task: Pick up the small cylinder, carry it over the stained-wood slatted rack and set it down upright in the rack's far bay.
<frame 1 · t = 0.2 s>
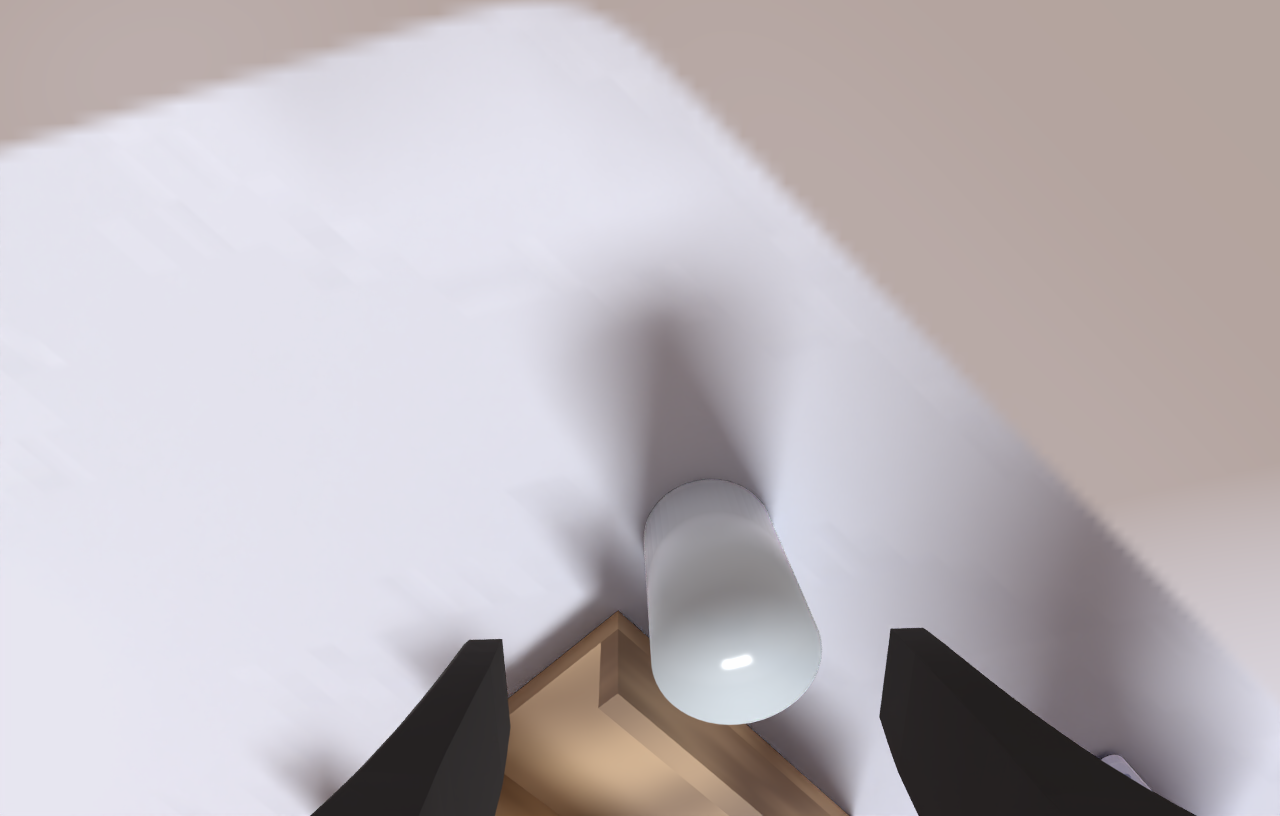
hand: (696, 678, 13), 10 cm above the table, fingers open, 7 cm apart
cylinder: (708, 537, 23), on the table
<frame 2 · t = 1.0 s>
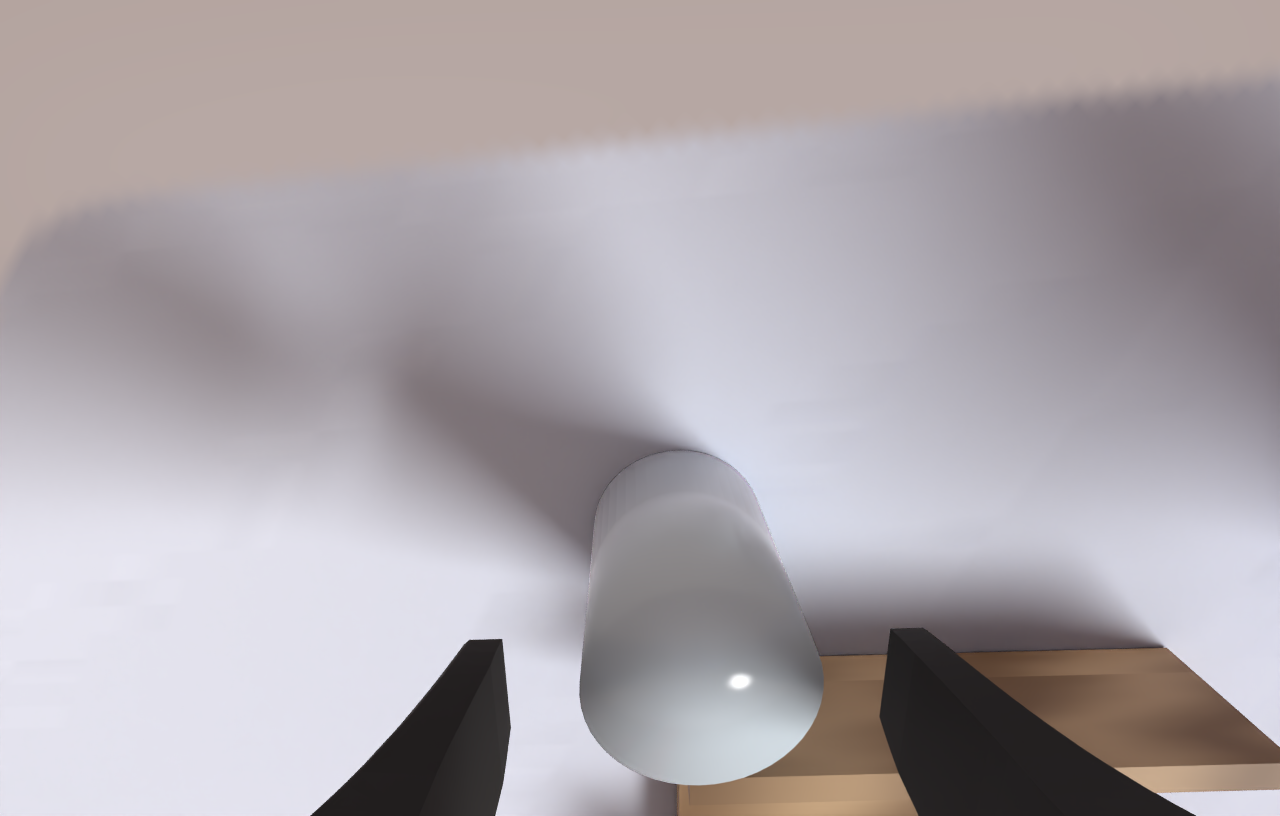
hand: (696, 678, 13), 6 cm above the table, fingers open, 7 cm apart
cylinder: (677, 527, 18), on the table
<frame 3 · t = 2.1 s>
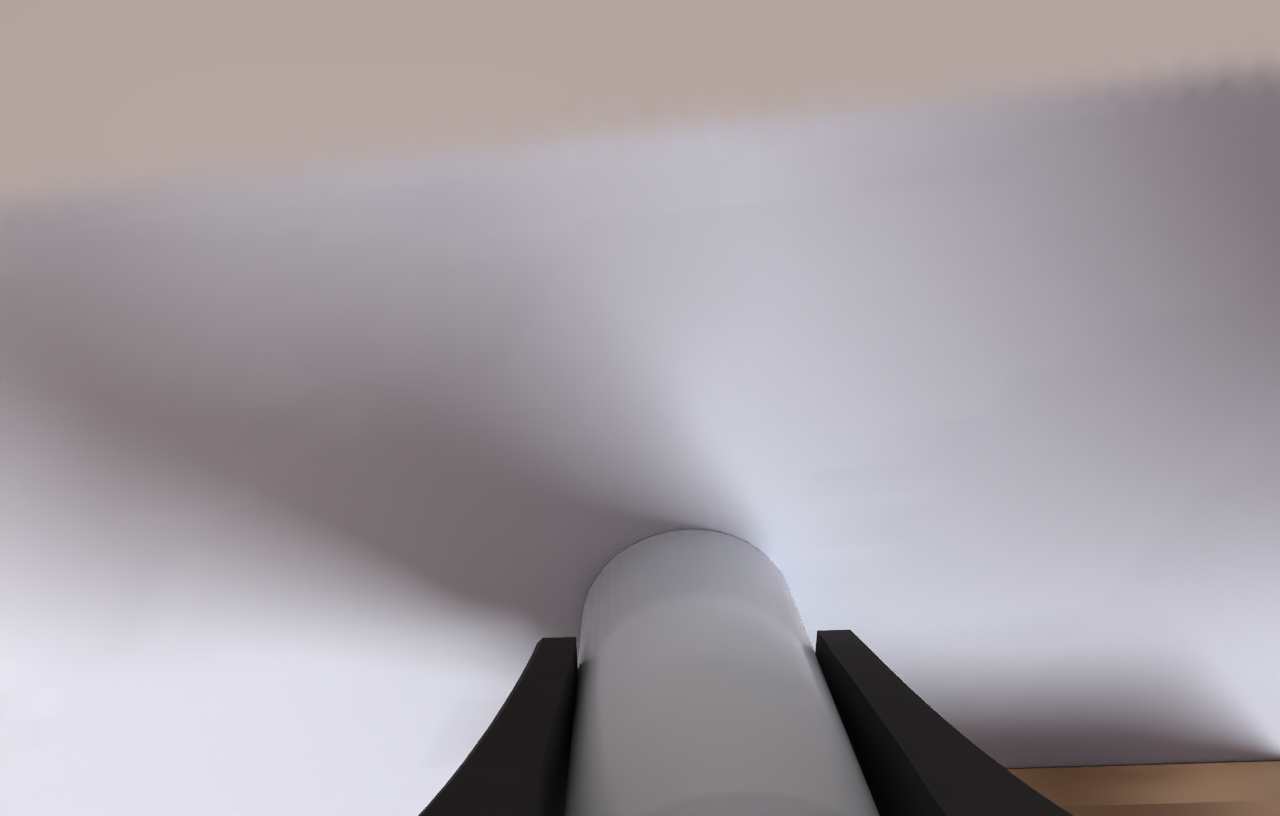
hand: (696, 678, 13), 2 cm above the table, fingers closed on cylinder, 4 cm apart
cylinder: (688, 623, 14), on the table, touching gripper
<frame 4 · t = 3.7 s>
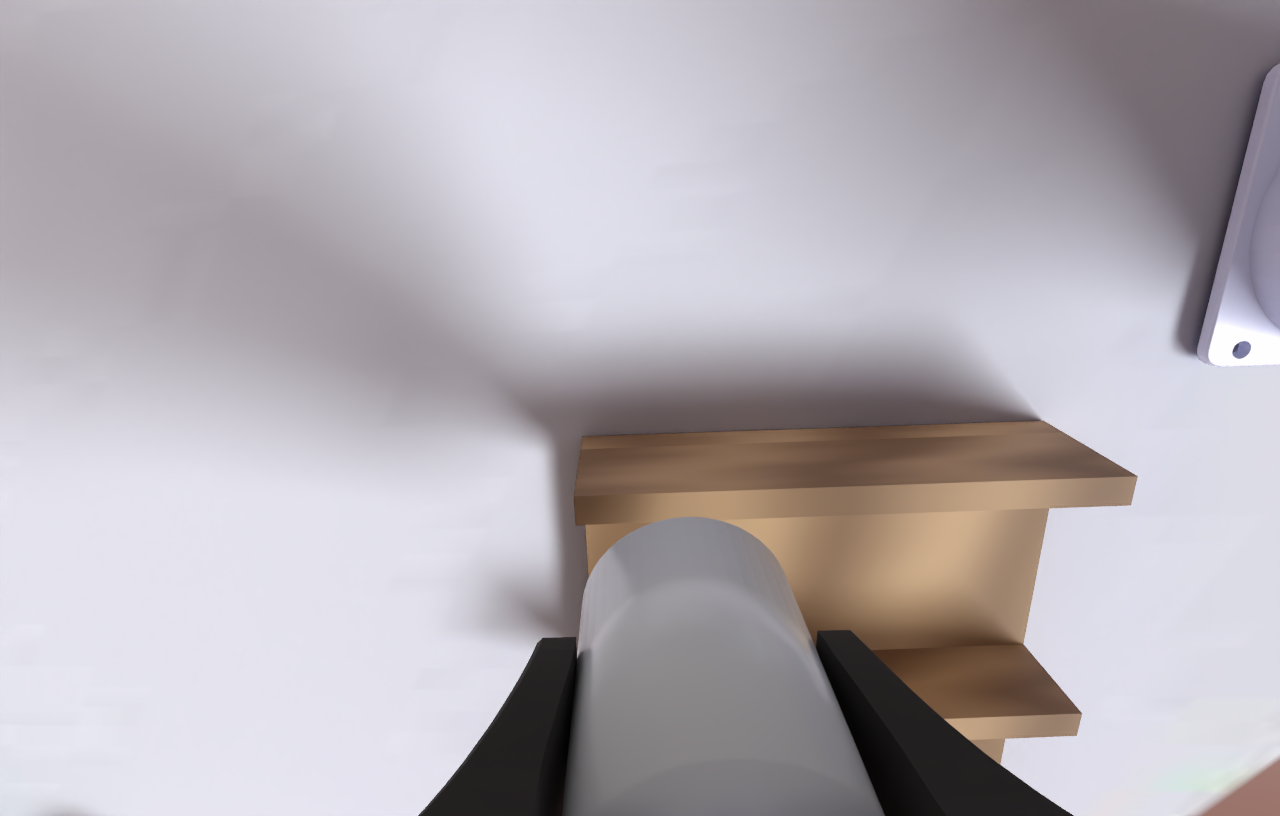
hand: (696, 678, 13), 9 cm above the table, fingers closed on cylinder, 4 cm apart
rack: (801, 642, 23), on the table
cylinder: (686, 610, 14), point 7 cm above the table, touching gripper
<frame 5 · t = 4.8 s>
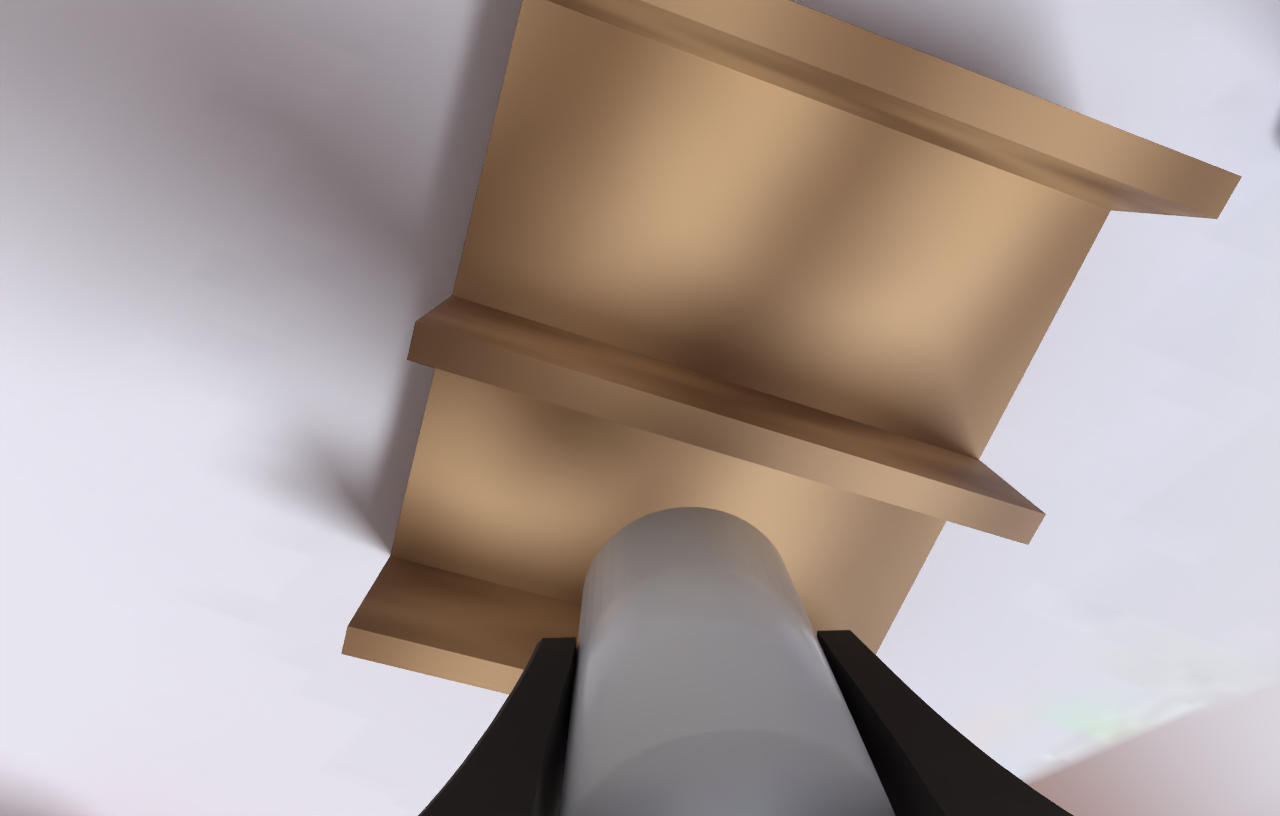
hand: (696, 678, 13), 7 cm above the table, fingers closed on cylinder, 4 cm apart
rack: (718, 384, 18), on the table
cylinder: (686, 602, 14), point 5 cm above the table, touching gripper
when the fingers open (4 cm above the table, at t = 5.7 s): cylinder stays where it is, resting on rack.
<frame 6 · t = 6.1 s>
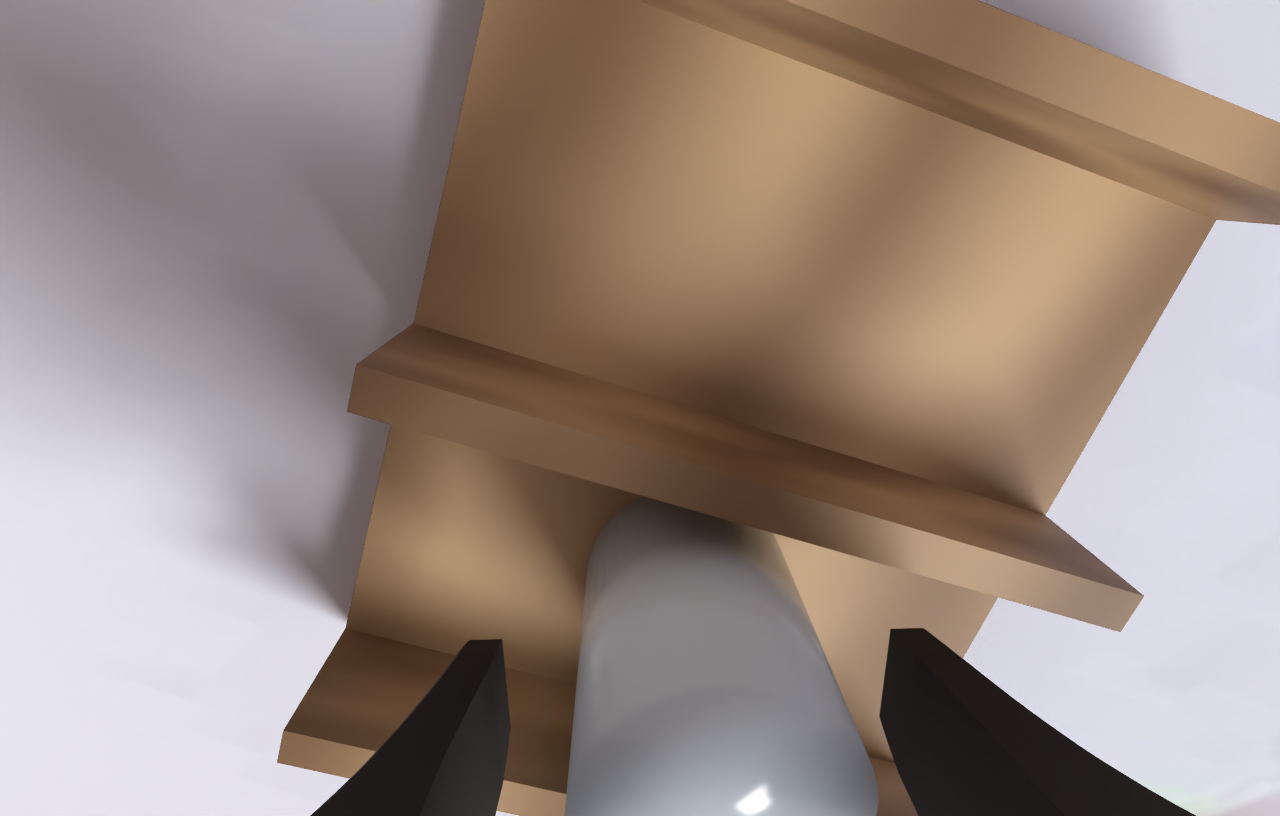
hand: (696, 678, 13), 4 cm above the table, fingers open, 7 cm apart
rack: (734, 425, 15), on the table
cylinder: (685, 576, 15), point 1 cm above the table, touching rack
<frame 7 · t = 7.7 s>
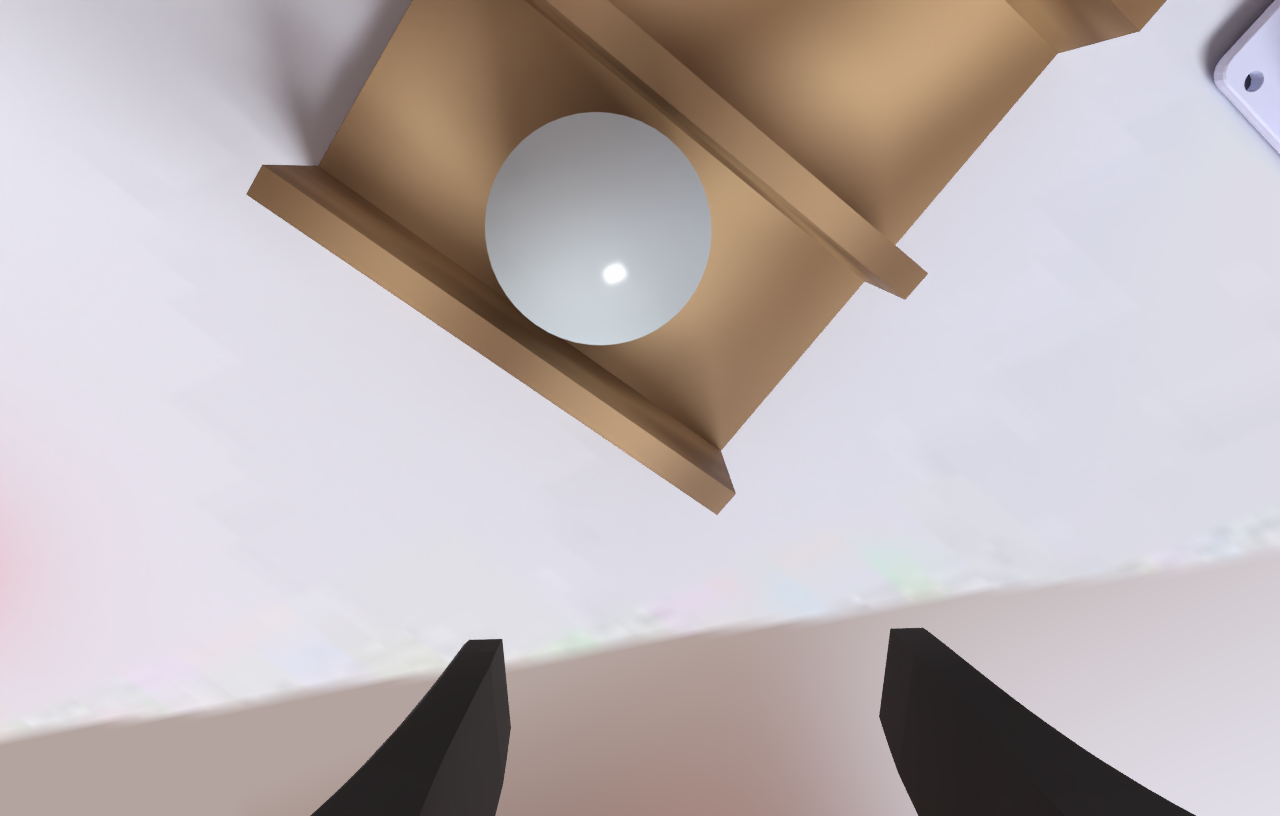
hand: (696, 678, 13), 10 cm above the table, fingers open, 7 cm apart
rack: (680, 113, 19), on the table
cylinder: (605, 215, 19), point 1 cm above the table, touching rack
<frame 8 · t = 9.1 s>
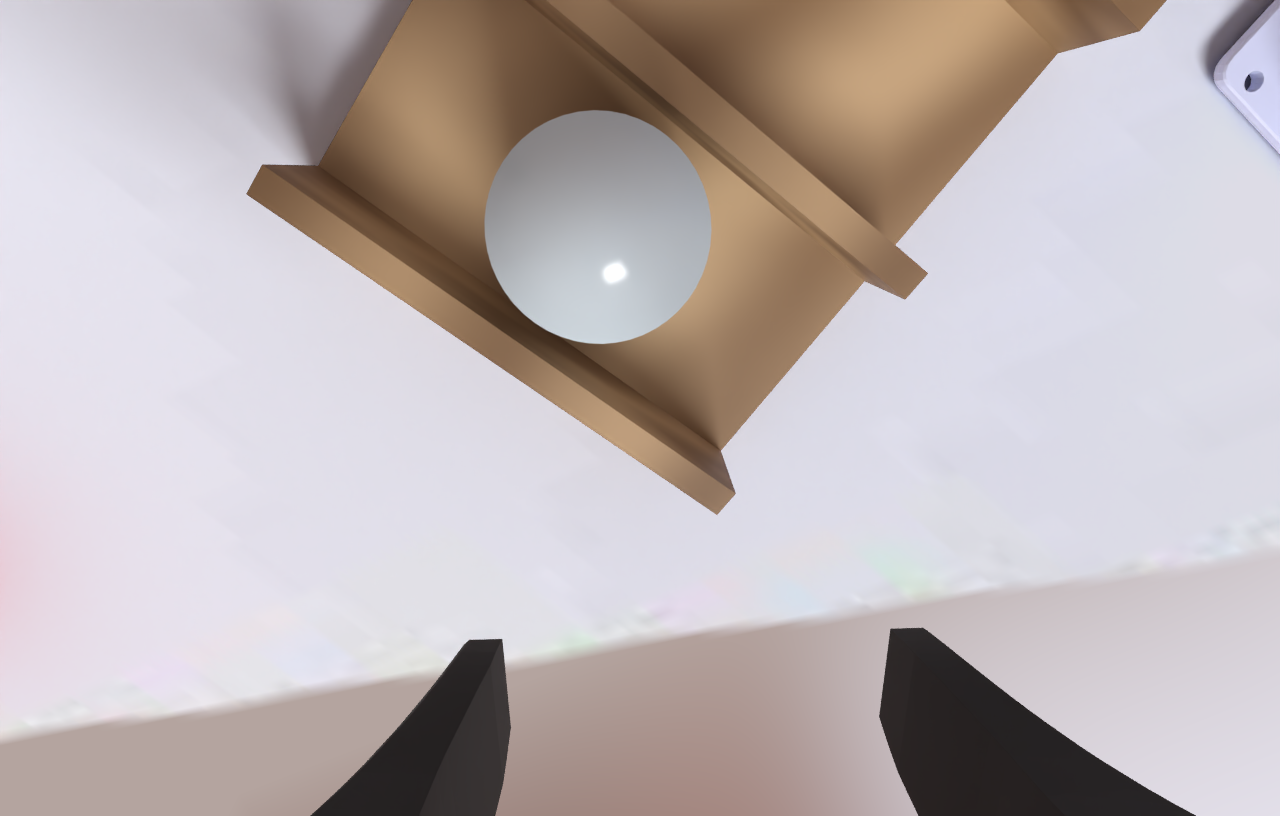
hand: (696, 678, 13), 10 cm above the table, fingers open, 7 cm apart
rack: (679, 113, 19), on the table
cylinder: (605, 215, 19), point 1 cm above the table, touching rack
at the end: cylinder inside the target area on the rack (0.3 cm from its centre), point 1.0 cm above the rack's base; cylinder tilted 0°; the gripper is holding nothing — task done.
